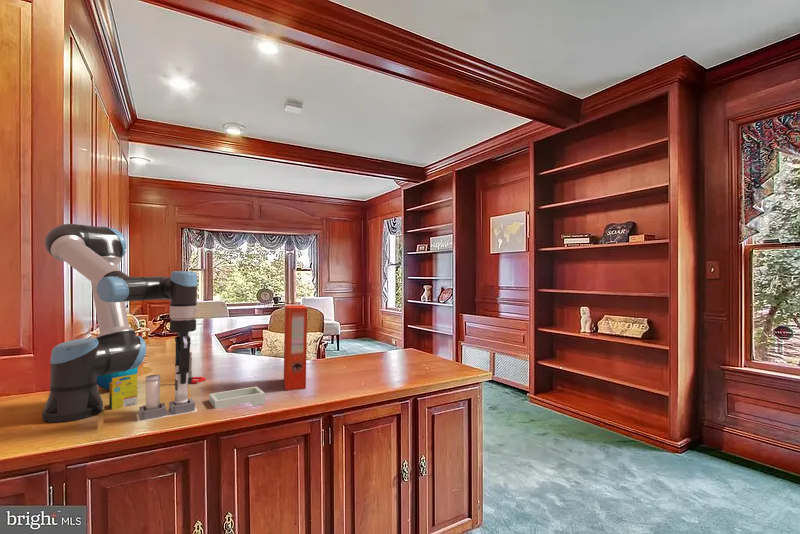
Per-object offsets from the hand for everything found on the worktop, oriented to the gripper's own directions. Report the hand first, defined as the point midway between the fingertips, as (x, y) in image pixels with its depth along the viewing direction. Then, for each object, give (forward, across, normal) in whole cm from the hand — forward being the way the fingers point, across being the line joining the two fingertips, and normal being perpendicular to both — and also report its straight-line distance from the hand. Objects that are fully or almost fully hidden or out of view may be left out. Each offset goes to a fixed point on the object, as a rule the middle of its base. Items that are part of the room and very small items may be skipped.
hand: (181, 391), depth 127 cm
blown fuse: (+4, 0, 0) cm, 4 cm away
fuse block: (+7, 0, +4) cm, 8 cm away
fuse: (+6, 0, +8) cm, 10 cm away
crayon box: (+8, +16, +15) cm, 23 cm away
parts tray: (+7, 0, -17) cm, 19 cm away
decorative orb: (+8, +48, +17) cm, 51 cm away
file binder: (+7, +14, -43) cm, 46 cm away
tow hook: (+8, +43, -10) cm, 45 cm away
